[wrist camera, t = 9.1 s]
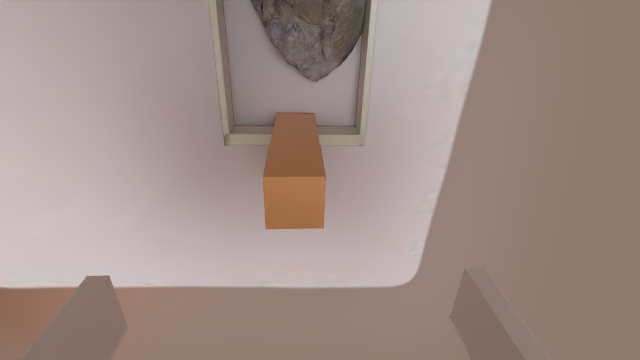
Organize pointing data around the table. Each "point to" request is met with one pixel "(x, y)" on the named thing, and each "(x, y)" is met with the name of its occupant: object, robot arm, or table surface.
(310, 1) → the fossilized seashell
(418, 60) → the table surface
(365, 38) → the sled
